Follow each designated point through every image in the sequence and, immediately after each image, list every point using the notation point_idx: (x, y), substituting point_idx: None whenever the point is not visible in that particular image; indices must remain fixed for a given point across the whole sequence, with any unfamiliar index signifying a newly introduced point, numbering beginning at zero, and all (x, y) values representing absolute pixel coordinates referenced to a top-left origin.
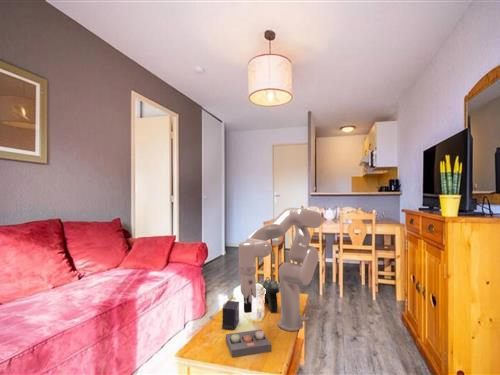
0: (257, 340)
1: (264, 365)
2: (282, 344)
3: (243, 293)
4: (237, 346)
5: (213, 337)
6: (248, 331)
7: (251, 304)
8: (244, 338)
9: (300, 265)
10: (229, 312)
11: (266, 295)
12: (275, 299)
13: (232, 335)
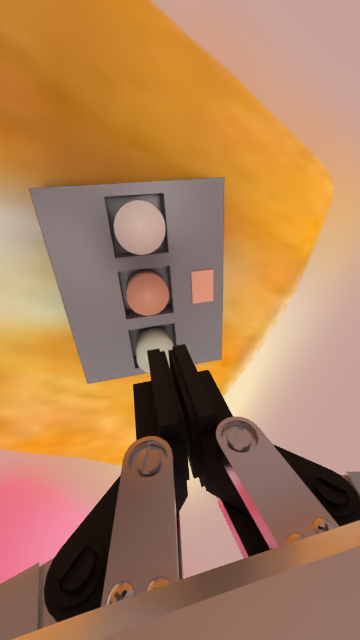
0: (170, 246)
1: (290, 241)
2: (157, 78)
3: None
4: (202, 340)
5: (58, 407)
6: (60, 278)
7: (210, 400)
8: (158, 312)
9: None
10: None
11: None
12: None
13: (148, 369)
